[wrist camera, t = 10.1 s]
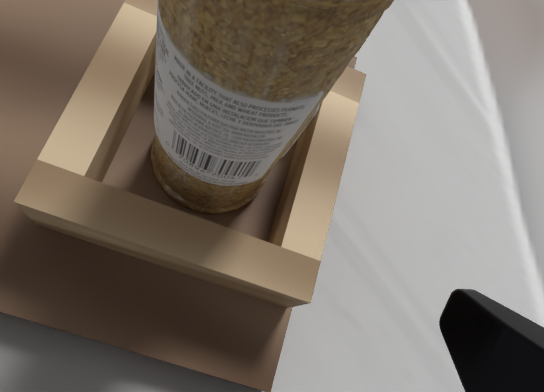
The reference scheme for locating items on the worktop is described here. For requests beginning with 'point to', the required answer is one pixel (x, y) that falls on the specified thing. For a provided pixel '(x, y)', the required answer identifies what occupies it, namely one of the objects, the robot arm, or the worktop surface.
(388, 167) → the worktop surface
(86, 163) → the socket
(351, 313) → the worktop surface
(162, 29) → the spice jar
